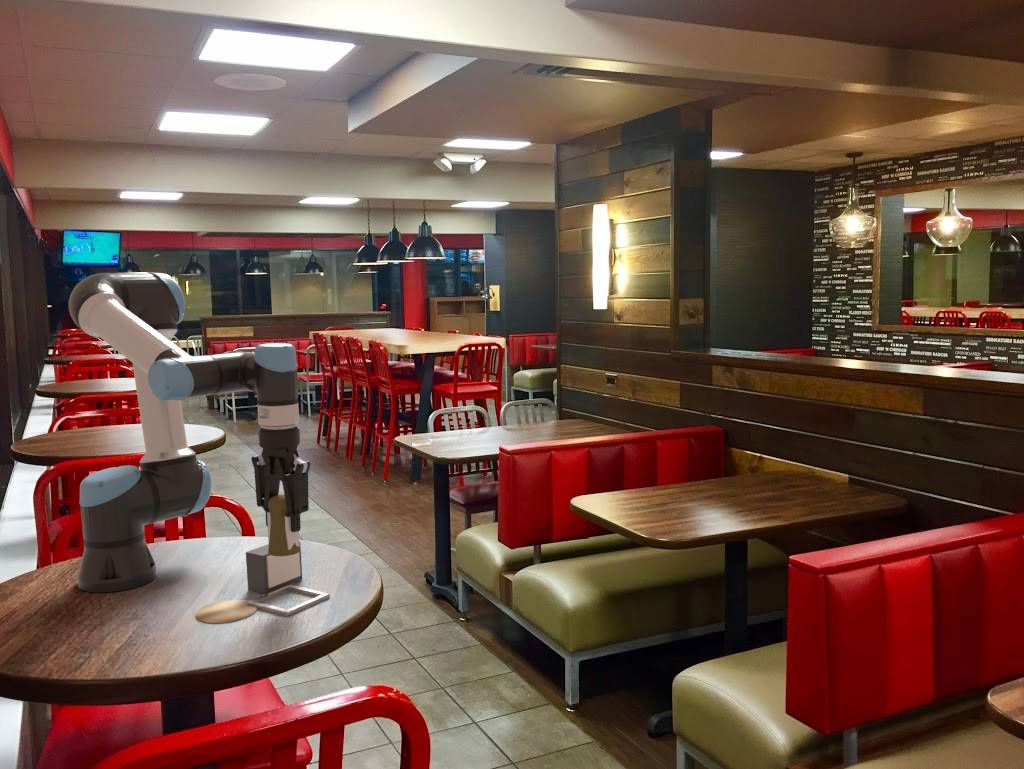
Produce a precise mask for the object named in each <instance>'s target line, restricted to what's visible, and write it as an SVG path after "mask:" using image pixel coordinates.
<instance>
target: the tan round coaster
mask: <svg viewBox="0 0 1024 769" xmlns="http://www.w3.org/2000/svg"><path fill="white" fill-rule="evenodd" d="M248 601H249V600H245V599H229V600H222V601H217V602H214V603H209V604H207V605H204V606H202V607H201V608H199V609H198V610H197V611H196V612H195V618H196V620H197V621H199V622H202V623H206V624H226V623H232V622H236V621H241V620H243V619H246V618H249V617H251V616H252V615H253V614H255V613H256V612H257V610H258V609H257V607H255V606H251V605H247V602H248Z"/></svg>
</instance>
